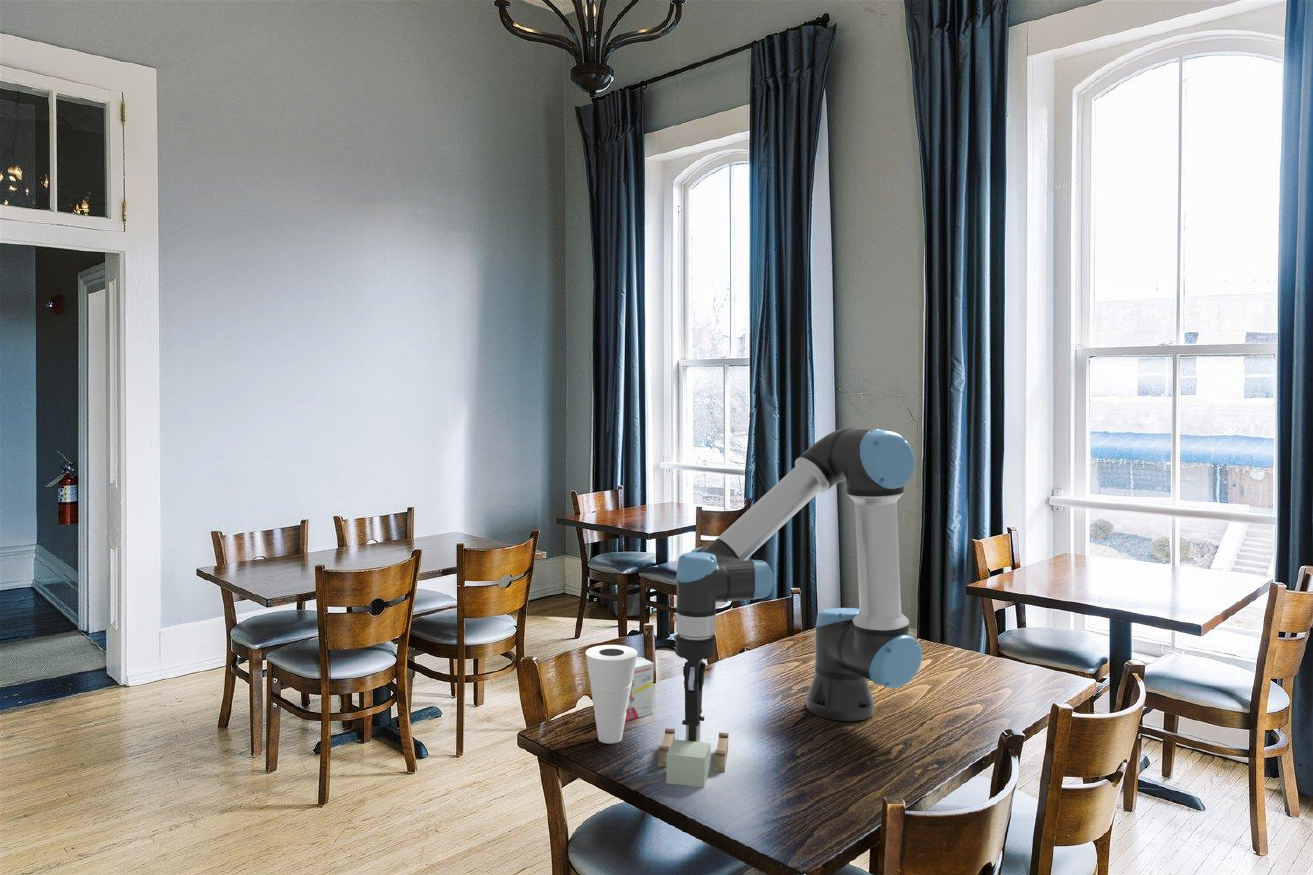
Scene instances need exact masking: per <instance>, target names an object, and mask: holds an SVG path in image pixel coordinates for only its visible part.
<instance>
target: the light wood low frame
mask: <svg viewBox="0 0 1313 875" xmlns="http://www.w3.org/2000/svg"><path fill="white" fill-rule="evenodd" d="M675 734H676V729H675V728H667V727H666V728H665V730H664V734H663V735H664V736H663V737H662V741H661V743H660V745H658V751H657V752H658V767H662V768H663V767H664V768H666V765H667V753H668V751H669V749H670V747H671V745H672V743H673V741H674V739H676V738H675V736H676V735H675ZM714 752H715V753H714V758H715V760H714V772H720V773H721V772H723V773H724V772H725V771H726V765H727V760H728V759H727V758H728V752H729V732H720V731H719V733H718V740H717V745H716V750H715V751H714Z"/></svg>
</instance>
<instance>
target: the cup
mask: <svg viewBox="0 0 1313 875" xmlns="http://www.w3.org/2000/svg"><path fill="white" fill-rule="evenodd" d="M638 653H639V652H638V651H637V649H635V648H634V647H631V646H626V645H620V644H602V645H595V646H592V647H589V648H588V649H586V650H585V657H586V666H587V671H588V679H589V681H590V682H589V685H590V692H591V698H592V706H593V709H594V717H595V724H596V732H597V739H598V741H599V743H600V742H601V743H603V744H610V745H611V744H617V743H619V742H622V740H623V734H624V728H625V724H626V722H625V718H626V710H627V707H628V702H629V696H630V691H631V686H632V680H633V675H634V670H635V665H636V659H637V658H638Z"/></svg>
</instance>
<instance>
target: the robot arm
mask: <svg viewBox="0 0 1313 875" xmlns="http://www.w3.org/2000/svg"><path fill="white" fill-rule="evenodd" d="M915 463H916V462H915V455H914V451H913V448H912V447H911V444H910V443H909V442H908V441H907V440H906V439H905V437H903V436H902V435H901V434H899V433H897V432H896V431H895V432H894V431H889V430H884V429H880V428H879V429H878V428H877V429H876V428H875V429H873V428H872V429H871V428H852V427H849V428H848V427H847V428H840V429H837V430H834V431H832V432H830V433H829V434H826V435H825V436H823V437H821V439H819V440H818V441H816V442H815V443H814V444H813V445H811V446H810V447H809V448H808V449H806V450H805V451H804V452H803V453H802V454H800V455H799V456H798V457H797V458H796V459H795V461H794V467H793V468H792V469H791V470H790V471H789V472H788V473H787V474H786V475H785V476H783V477H782V479H780V480H779V481H778V482H777V483H776V484H774V486H773V487H772V488H770V489H769V490H768V491H767V492H766V493H765V494H764V495H763V496H761V497H760V499H758V500H757V501H756V502H755V503H754V504H753V505H752V506H751V507H750V508H749V509H747V511H745V512H744V513H743V514H742V515H741V516H740V517H738V519H736V521H735V522H733V523H732V524H731V525H730V526H729V527H728V528H727V529H726V530H725V531H723V532H722V534H720V535H719V536H718V537H717V538H716V539H715V540H714V541H713V542H711V543H710V544H709V545H708V546H707V547H706V546H699V547H696V548H694V549H692V550H691V551H690V552H685V553H682V554H681V555H679V557H678V560H677V567H676V576H675V580H676V607H675V609H676V612H675V613H676V615H674V616H673V618H672V621H673V622H676V624H675V632H676V633H677V635H676V636H675V642H674V643H675V648H674V651H675V655H676V656H678V657H679V658H681V659H685V660H686V661H685V663H684V666H683V667H682V668H683V669H682V670H683V673H682V675H683V678H684V680H683V688H684V689H683V690H684V719H682V722H681V726H682V725H684V726H685V741H695V742H701V728H702V727H701V726H702V724H701V723H702V722H705V716H701V715H702V712H703V709H702V707H703V706H702V705H703V688H704V686H703V685H704V683H705V673H706V667H707V665H706V663H704V661H703V660H708V659H711V658H713V657H714V655H715V647H716V645H715V644H716V638H715V636H714V635H715V634H716V624H717V622H716V621H717V620H716V619H717V613H716V612H717V611H716V610H717V609H716V606H717V603H724V602H725V603H726V602H738V601H748V600H749V601H750V600H751V601H754V600H757V599H759V600H760V599H763V598H767V597H768V596H769V595H770V594H771V592H772V590H773V586H774V575H773V571H772V568H771V567H770V565H769V564H768V563H767V562H766V561H764V560H762V559H761V560H760V559H756V560H755V559H750V560H748V559H749V558H750V557H751V556H753V554H754V553H755V552H756V551H758V549H760V548H761V546H763V545H764V544H765V543H766V542H767V541H768V540H769V539H770V538H771V537H773V535H775V534H776V533H777V532H778V531H779V530H780V529H781V528H782V527H784V525H785V524H787V523H788V522H789V521H790V520H791V519H792V518H793V517H794V516H795V515H797V513H798V512H799V511H801V510H802V508H804V507H805V506H806V505H807V504H808V503H809V502H810V501H811V500H812V499H813V498H814V497H816V495H818V494H819V493H826V492H828V491H829V490H830V489H831V488H832V487H833V486H835V485H837V484H839V483H842V482H846V496H848V497H849V498H850V499H851V500H852V501H853V502H854V512H855V513H854V514H855V535H856V537H855V538H856V558H857V559H856V560H857V563H856V564H857V580H858V581H857V583H858V585H857V586H858V603H859V606H858V608H855V607H837V608H836V607H835V608H826V609H823V610H820V611H819V612H818V613H817V615H816V623H815V626H814V628H815V656H814V657H815V660H814V661H815V664H814V665H815V666H814V675H813V677H812V680H811V683H810V686H809V689H808V691H807V695H806V701H805V702H806V704H805V706H806V709H807V710H808V711H809V712H810V713H811V714H813V715H816V716H818V717H820V718H824V719H828V720H831V721H832V720H833V721H839V722H840V721H842V722H857V721H863V720H868V719H869V718H871V717H872V716H874V714H875V702H874V697H873V695H872V691H871V688H870V684H869V681H871V682H872V683H874V684H875V685H877V686H883V687H884V688H888V689H899V688H901V687H904V686H906V685H907V684H909V683H910V682H911V681H913V679H914V677H915V675H917V674H918V672H919V670H920V668H921V664H922V661H923V651H922V647H921V644H920V643H919V642H918V641H917V639H915V637H913V636H911V635H910V621H909V618H908V617H907V616H906V615H904V614H903V613H902V601H901V600H902V599H901V576H900V554H899V553H900V552H899V551H900V550H899V548H900V546H899V527H898V526H899V525H898V524H899V523H898V503H897V502H898V500H899V499H900V498H901V497H903V495H904V494H905V489H904V488H905V485H906V484H907V483H909V481H910V480H911V477H912V476H913V475H914V471H915ZM868 680H869V681H868Z"/></svg>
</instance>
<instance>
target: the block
mask: <svg viewBox="0 0 1313 875" xmlns="http://www.w3.org/2000/svg"><path fill="white" fill-rule="evenodd" d="M665 768H666V770H665V772H666V776H665V783H666V784H671V785H678V786H679V785H681V786H689V787H697V788H705V785H706V783H707V781H708V778H709V775H710V771H711V742H702V741H700V742H695V741H685V740H684V739H676V738H675V739H674V741H673V743H672V745H671V747H670V749H669V751H668V753H667V765H666V767H665Z"/></svg>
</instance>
